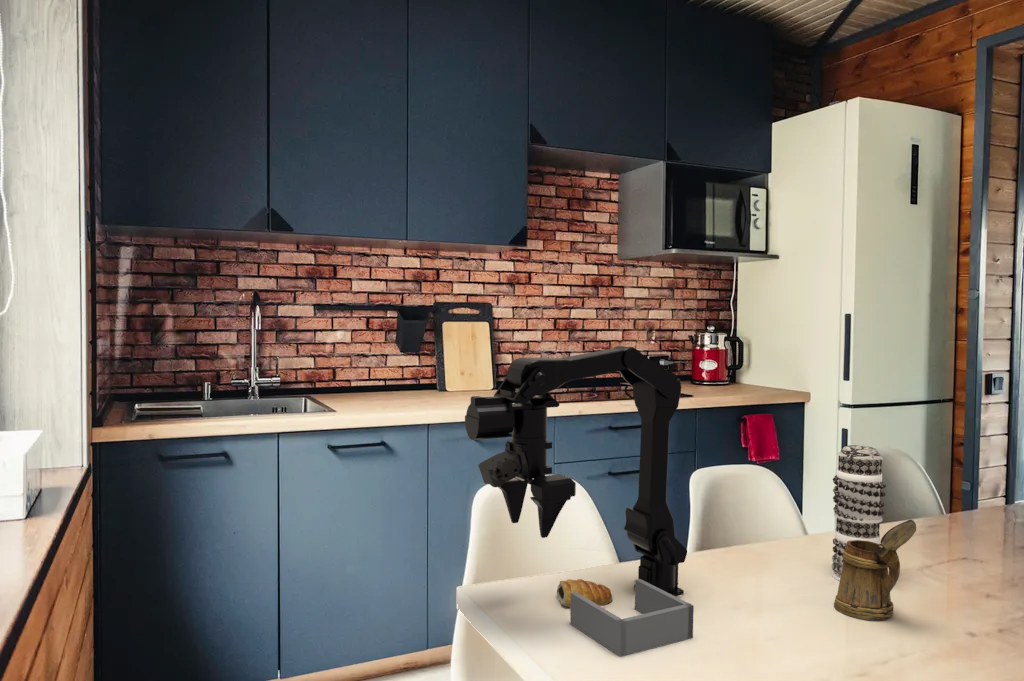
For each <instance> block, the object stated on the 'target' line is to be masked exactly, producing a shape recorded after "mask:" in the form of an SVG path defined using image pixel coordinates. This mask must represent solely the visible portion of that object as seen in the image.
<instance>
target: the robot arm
mask: <svg viewBox="0 0 1024 681" xmlns="http://www.w3.org/2000/svg"><path fill="white" fill-rule="evenodd" d="M617 372H619V374H620V375H621V377H622V378H623V380H624V381H626V382H627V384H629V385H630V386H631V387H632V391H633V397H634V398H633V400H634V404H635V407H636V410H637V412H638V414H639V417H640V420H641V421H640V423H641V425H640V446H639V447H640V448H639V449H640V450H639V452H640V453H639V474H638V495H637V496H638V497H637V500H636V502H635V503H634V506H633V507H626V509H625V525H624V527H623V530H624V531H626V533H627V534H626V535H627V539H629V541H630V542H631V543H632V544H633V547H634V551H635V552H636V553H639V554H640V555H641V554H642V556H640V557H639V558H640V560H639V565H638V572H637V573H638V576H637V577H638V578H637V579H641V580H643V581H645V582H647V583H649V584H651V585H653V586H655V587H657V588H659V589H661V590H663V591H665V592H667V593H669V594H671V595H673V596H677V595H681V594H685V593H684V592H685V590H684V589H682V588H680V587H679V586H678V585H679V564H683V563H684V562H685V560H686V558H687V555H688V550H687V548H686V547H685V546H684V545H683V544H682V543H681V542H680V541H679V540H678V539H677V538H676V533H675V532H676V531H675V523H674V518H673V515H672V513H671V510H670V509H669V506H668V503H667V490H668V467H669V466H668V465H669V447H670V446H669V444H670V443H669V441H670V439H669V438H670V423H671V420H672V418H673V416H674V414H675V412H676V410H678V408H679V404H680V399H681V395H682V394H681V392H682V382H681V379H680V378H679V377H678V376H677V374H675V373H674V372H672V371H667V370H666V369H665V368H663V366H661V365H659V364H658V363H656V362H655V361H653V360H651V359H650V358H648V357H647V356H645V355H644V354H643V353H642V352H640V351H639V350H638V349H637V348H635V347H633V346H624V345H618V346H615V347H613V348H608V349H601V350H598V351H591V352H587V353H580V354H575V355H571V356H566V357H559V358H558V357H557V358H555V357H554V358H552V357H550V358H549V357H518V358H516V359H514V360H512V361H511V363H510V365H509V366H508V369H507V373H506V377H505V378H504V379H503V381H502V382H501V384H500V385H499V387H498V389H496V391H495V393H494V395H493V396H480V395H473V396H470V404H469V405H468V407H467V409H466V414H465V416H464V426H465V431H466V434H467V436H468V438H469V439H470V440H471V441H476V440H488V439H490V440H491V439H497V438H498V439H501V438H507V437H508V436H509V434H511V439H510V440H506V442H505V444H504V445H505V446H504V447H505V448H504V451H502V452H500V453H496V454H494V455H493V456H491V457H489V458H487V459H485V460H483V461H481V462H480V463H479V464H478V470H479V472H480V475H481V478H482V480H483V483H484V484H485V485H486V484H487V485H490V486H491V487H492V488H498V489H499V490H500V491H501V492H502V493H501V494H502V495H503V499H504V502H505V504H506V508H507V511H508V515H509V518H510V521H511V523H512V524H518V523H519V521H520V518H521V515H522V514H521V513H522V511H523V507H524V502H525V497H526V492H527V487H528V485H530V492H531V495H532V496H530V497H529V498H530V500H531V501H532V502H533V503H534V504H535V505H536V507H537V514H538V515H537V516H538V525H539V534H540V537H541V538H542V539H545V538H548V536H549V535H550V532H552V529H553V527H554V525H555V523H556V522H557V521H556V520H557V519H558V517H559V515H560V513H561V511H562V509H563V508H564V506H565V504H566V503H567V502H568V501H569V500H571V498H573V497H575V496H576V494H577V493H576V491H577V490H576V489H577V488H576V487H577V485H576V484H577V483H576V482H575V481H574V480H573V479H572V477H569V476H565V475H563V474H561V473H557V474H553V467H552V466H550V465H548V450H549V449H553V442H552V441H549V440H548V408H558V407H559V406H560V403H559V401H557V400H556V399H555V398H554V397H553V395H552V394H551V392H552V391H555V390H557V389H558V388H560V387H562V386H563V385H564V384H566V383H569V382H571V381H577V380H578V381H579V380H581V379H582V380H583V379H587V378H593V377H597V376H602V375H607V374H613V373H617ZM633 588H634V589H635V584H633Z"/></svg>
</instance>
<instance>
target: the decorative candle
mask: <svg viewBox="0 0 1024 681" xmlns="http://www.w3.org/2000/svg"><path fill="white" fill-rule="evenodd" d="M836 455H837V456H838V462H837V469H836V475H834V477H833V478H832V481H833V484H834V485H835V486H834V487H833V489H832V492H833V494H834V495H833V497H832V499H833V500H832V501H833V502H834V503H835V505H834V506H833V511H834V512H833V516H834V517H835V518H836V521H835V522H836V523H835V524H836V525H835V526H836V527H835V530H834V538H833V539H832V544H833V545H834V546H833V547H832V551H833V553H834V554H832V556H831V561H832V562H833V563H832V564H831V568H832V572H831V573H832V574H831V577H833V578H834V580H837V581H839V582H840V577H841V572H842V566H843V561H844V560H843V558H842V557H843V553H844V550H846V545H847V542H848V541H853V540H862V541H870V542H874V543H877V544H880V545H881V543H880V542H881V534H880V524H881V522H883V516H884V514H885V512H884V511H883V509H881V508H883V507H884V506H885V503H884V502H883V501H881V500H880V499H881V498H883V497H885V496H886V492H884V490H883V489H886V487H887V485H886V483H884V482H883V472H882V469H883V468H882V467H883V466H882V464H883V463H882V462H883V459H884V456H882V455H881V454H880V453H879V451H878V450H877V449H876V448H874V447H873V446H866V445H858V444H857V445H856V444H855V445H853V444H852V445H851V444H850V445H845V446H844V447H843V448H842V449H841V450H840V451H839V452H837V453H836Z"/></svg>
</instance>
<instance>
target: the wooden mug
mask: <svg viewBox="0 0 1024 681" xmlns="http://www.w3.org/2000/svg"><path fill="white" fill-rule="evenodd" d="M916 532H917V524H916V522H915V521H914V520H913V519H909V520H906V521H903V522H901V523H899V524H897V525H895V526H893V527H892V528H890V529H888V531H887V532H886V533H885V534H883V535H882V537H881V538H880V544H881V545H880V544H877V543H874V542H870V541H862V540H853V541H848V542H847V545H846V550H844V553H843V557H842V558H843V560H844V561H843V566H842V572H841V577H840V581H839V582H838V587H837V588H838V589H837V593H836V595H835V598H834V603H833V607H834V608H835V610H836V611H838V612H839V613H841V614H844V615H846V616H849V617H852V618H855V619H859V620H865V621H883V620H888V619H891V617H893V615H894V603H893V601H891V591H892V590H893V588H894V587H895V586H896V584H897V582H898V580H899V577H900V573H901V562H900V559H899V558H900V557H899V555H898V553H897V552H898V549H900V547H901V546H904V545H905V544H906V543H908V542H909V541H910V540H911V538H912V537H913V536H914V535H915V533H916Z"/></svg>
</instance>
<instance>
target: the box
mask: <svg viewBox="0 0 1024 681" xmlns="http://www.w3.org/2000/svg"><path fill="white" fill-rule="evenodd" d="M634 582H635V583H634V585H635V588H634V610H635V611H638V612H639V613H641V614H638V615H634V616H633V615H632V616H630V617H626V618H621V617H620V616H618V615H616V614H614V613H612V611H609V610H608V609H605V608H604V607H602V606H599V605H597V604H596V603H594V602H592V601H591V600H589V599H587V598H585V597H584V596H582V595H580V594H579V593H577V592H573V593H571V608H569V611H570V617H569V619H570V620H569V624H570V625H572V626H573V627H575V628H576V629H577V630H579V631H581V632H582V633H584V634H585V635H587V636H588V637H590V638H591V639H592V640H594V641H595V642H597V643H598V644H600V645H601V646H603V647H604V648H606V649H608V650H609V651H610V652H612V653H614V654H615V655H616V656H619V657H625V656H627V655H631V654H635V653H640V652H642V651H646V650H649V649H654V648H659V647H661V646H662V647H663V646H666V645H670V644H674V643H677V642H680V641H684V640H688V639H689V640H690V639H692V638H694V609H695V608H694V607H695V605H693V604H692V603H689V602H688V601H685V600H683V599H681V598H679V597H677V596H676V595H674V596H673V595H671V594H669V593H667V592H665V591H663V590H661V589H659V588H657V587H655V586H653V585H651V584H649V583H647V582H645V581H643V580H641V579H638V578H637V579H634Z"/></svg>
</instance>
